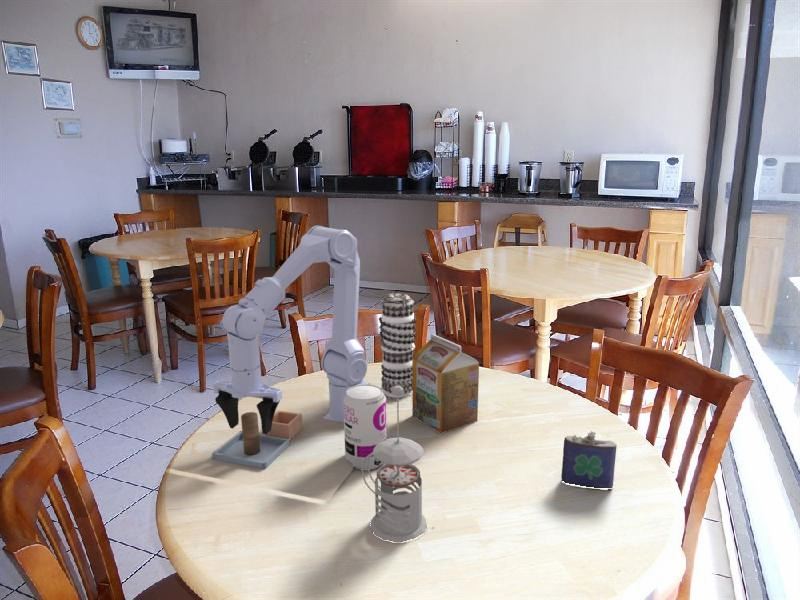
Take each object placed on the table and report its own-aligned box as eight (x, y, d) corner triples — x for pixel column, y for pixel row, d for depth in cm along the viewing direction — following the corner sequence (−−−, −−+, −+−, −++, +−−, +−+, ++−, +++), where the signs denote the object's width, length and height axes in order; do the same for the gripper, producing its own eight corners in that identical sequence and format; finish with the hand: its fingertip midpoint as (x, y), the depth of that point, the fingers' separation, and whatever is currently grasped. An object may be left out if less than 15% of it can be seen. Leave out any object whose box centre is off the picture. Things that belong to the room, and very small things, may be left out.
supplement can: (393, 455, 123) (392, 387, 119) (374, 475, 116) (373, 403, 112) (358, 447, 127) (356, 380, 123) (338, 466, 120) (335, 396, 116)
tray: (290, 447, 127) (290, 439, 126) (265, 471, 118) (264, 463, 117) (240, 438, 131) (240, 430, 130) (212, 461, 122) (211, 453, 121)
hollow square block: (302, 430, 134) (301, 413, 133) (289, 442, 129) (288, 425, 128) (279, 426, 136) (278, 410, 135) (265, 438, 131) (264, 421, 129)
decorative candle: (409, 400, 148) (409, 302, 142) (374, 395, 152) (372, 298, 145) (421, 386, 157) (421, 292, 150) (388, 381, 160) (387, 289, 153)
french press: (408, 551, 95) (408, 404, 89) (349, 527, 101) (344, 388, 95) (438, 518, 103) (440, 381, 97) (381, 497, 109) (379, 367, 103)
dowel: (263, 449, 125) (260, 413, 123) (254, 456, 122) (251, 420, 120) (249, 446, 126) (246, 411, 124) (241, 454, 123) (237, 417, 121)
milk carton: (477, 420, 138) (479, 341, 133) (440, 433, 132) (441, 351, 127) (448, 404, 146) (449, 329, 141) (412, 415, 141) (412, 338, 136)
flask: (612, 484, 113) (617, 432, 110) (613, 493, 110) (618, 439, 107) (561, 477, 115) (564, 426, 112) (560, 485, 113) (564, 433, 110)
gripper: (201, 368, 118) (207, 432, 121) (267, 378, 113) (271, 443, 117) (223, 356, 124) (228, 417, 128) (286, 364, 120) (289, 427, 123)
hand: (250, 429), depth 123 cm, fingers open, 7 cm apart
